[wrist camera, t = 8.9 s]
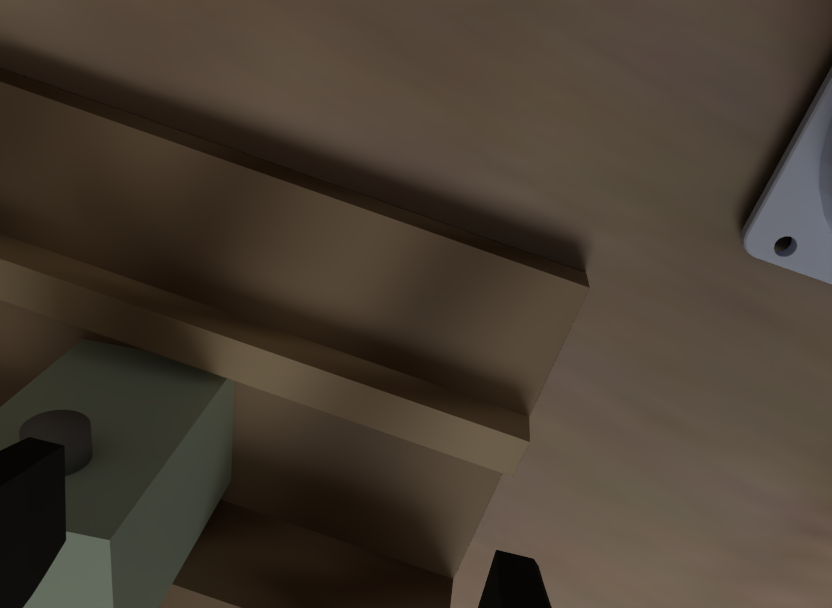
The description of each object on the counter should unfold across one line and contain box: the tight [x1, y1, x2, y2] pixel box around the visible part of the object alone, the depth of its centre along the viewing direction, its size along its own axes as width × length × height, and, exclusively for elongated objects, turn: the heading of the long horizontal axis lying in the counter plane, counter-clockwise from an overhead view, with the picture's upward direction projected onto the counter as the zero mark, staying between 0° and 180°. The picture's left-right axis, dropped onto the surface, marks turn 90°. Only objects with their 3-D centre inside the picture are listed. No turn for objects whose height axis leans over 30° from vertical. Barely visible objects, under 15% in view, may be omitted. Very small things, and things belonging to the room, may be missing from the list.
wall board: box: [0, 68, 590, 608], centre depth 20 cm, size 20×12×4 cm, turn 72°
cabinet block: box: [0, 339, 235, 608], centre depth 18 cm, size 4×5×7 cm
